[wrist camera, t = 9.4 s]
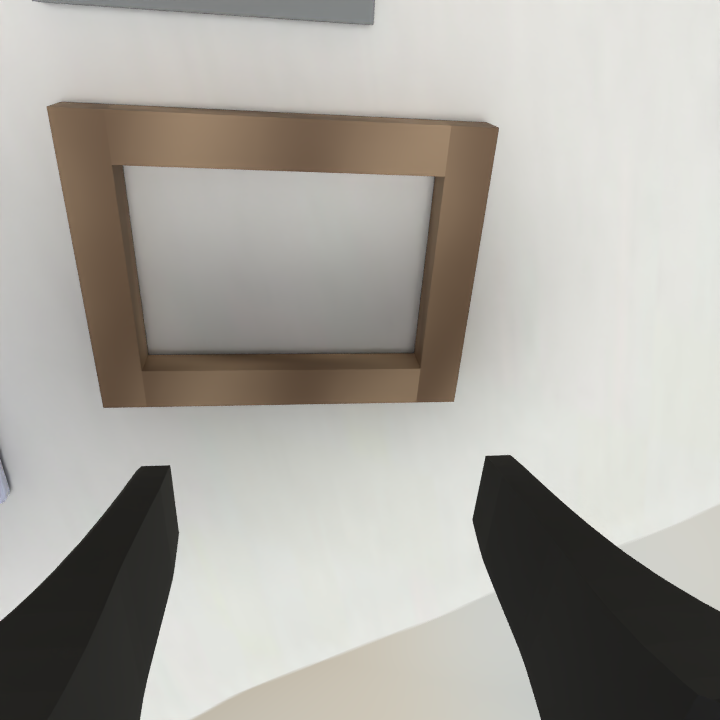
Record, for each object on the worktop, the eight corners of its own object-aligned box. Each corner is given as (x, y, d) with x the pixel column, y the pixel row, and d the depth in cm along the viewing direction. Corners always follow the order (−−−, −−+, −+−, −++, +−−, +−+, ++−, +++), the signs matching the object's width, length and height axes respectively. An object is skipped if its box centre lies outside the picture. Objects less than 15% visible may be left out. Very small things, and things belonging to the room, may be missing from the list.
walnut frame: (111, 389, 22) (103, 407, 21) (60, 102, 17) (46, 106, 16) (446, 385, 24) (453, 401, 23) (486, 122, 19) (498, 128, 18)
